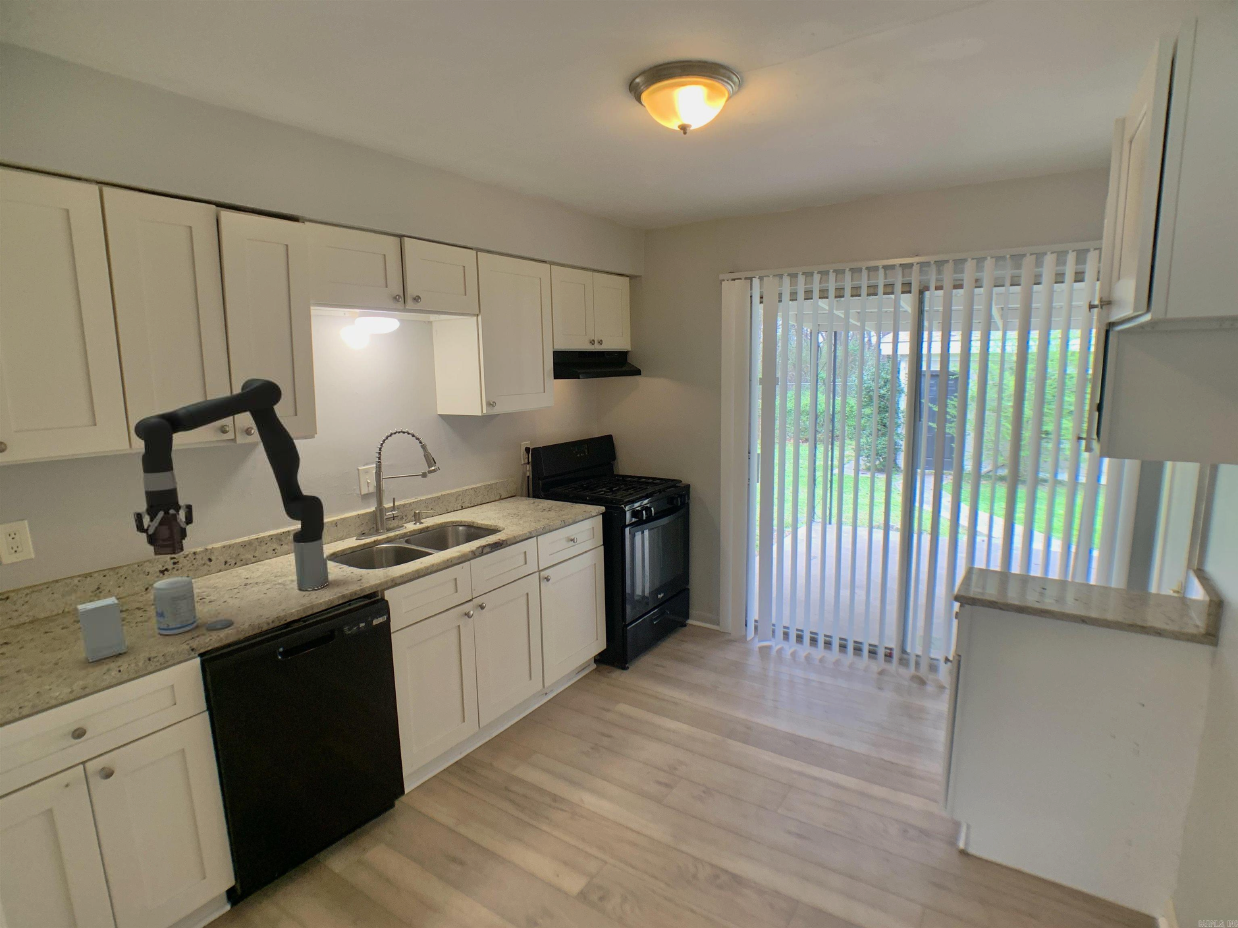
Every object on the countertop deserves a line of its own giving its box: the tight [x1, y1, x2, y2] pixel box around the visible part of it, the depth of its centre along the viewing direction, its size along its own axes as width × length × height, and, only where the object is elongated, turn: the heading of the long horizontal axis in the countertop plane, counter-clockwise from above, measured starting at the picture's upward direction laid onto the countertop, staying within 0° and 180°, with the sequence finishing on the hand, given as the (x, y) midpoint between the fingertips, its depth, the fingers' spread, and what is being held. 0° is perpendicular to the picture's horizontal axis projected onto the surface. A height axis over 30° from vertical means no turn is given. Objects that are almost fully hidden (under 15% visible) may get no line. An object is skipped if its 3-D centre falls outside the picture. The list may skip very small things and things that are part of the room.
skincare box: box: [76, 596, 128, 663], centre depth 164 cm, size 8×6×15 cm
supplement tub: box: [152, 576, 198, 636], centre depth 180 cm, size 10×10×15 cm
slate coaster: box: [205, 618, 234, 632], centre depth 183 cm, size 7×7×1 cm
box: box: [148, 511, 184, 557], centre depth 177 cm, size 6×4×12 cm
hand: (167, 542), depth 177 cm, fingers closed on box, 7 cm apart
